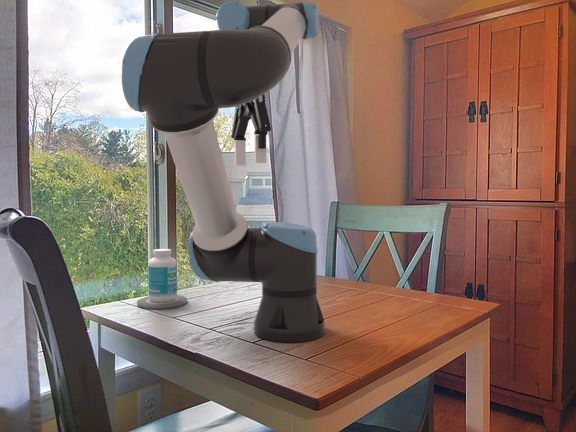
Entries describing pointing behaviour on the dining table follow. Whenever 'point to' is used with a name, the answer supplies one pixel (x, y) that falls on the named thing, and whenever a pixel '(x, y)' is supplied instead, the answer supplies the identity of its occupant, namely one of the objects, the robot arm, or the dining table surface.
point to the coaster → (161, 303)
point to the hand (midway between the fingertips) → (249, 164)
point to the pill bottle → (162, 276)
